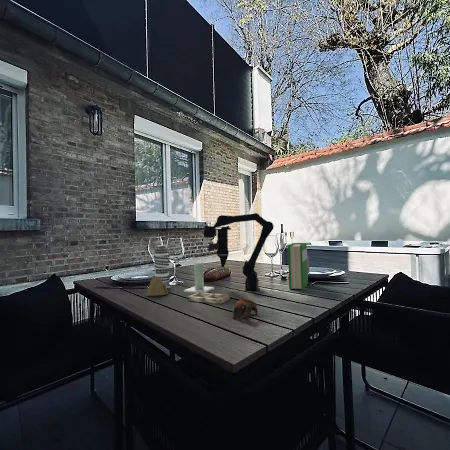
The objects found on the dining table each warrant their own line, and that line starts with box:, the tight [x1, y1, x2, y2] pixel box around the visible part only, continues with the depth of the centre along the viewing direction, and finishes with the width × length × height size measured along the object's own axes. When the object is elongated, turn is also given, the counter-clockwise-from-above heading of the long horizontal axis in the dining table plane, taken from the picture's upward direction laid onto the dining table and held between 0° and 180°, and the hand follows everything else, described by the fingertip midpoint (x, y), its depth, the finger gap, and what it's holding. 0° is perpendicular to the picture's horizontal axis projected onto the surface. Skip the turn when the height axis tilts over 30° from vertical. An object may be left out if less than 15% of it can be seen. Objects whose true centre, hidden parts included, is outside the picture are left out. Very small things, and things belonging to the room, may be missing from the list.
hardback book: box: [287, 242, 309, 291], centre depth 162 cm, size 18×7×24 cm, turn 157°
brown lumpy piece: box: [231, 297, 258, 321], centre depth 111 cm, size 12×9×8 cm
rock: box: [145, 275, 169, 297], centre depth 153 cm, size 11×9×10 cm
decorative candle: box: [153, 244, 171, 289], centre depth 171 cm, size 9×9×25 cm
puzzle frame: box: [187, 292, 231, 305], centre depth 137 cm, size 17×9×2 cm, turn 64°
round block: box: [193, 262, 205, 290], centre depth 158 cm, size 5×5×14 cm
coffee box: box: [307, 252, 310, 274], centre depth 185 cm, size 9×6×16 cm
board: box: [183, 285, 215, 294], centre depth 158 cm, size 12×12×2 cm
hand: (222, 266), depth 161 cm, fingers open, 9 cm apart
